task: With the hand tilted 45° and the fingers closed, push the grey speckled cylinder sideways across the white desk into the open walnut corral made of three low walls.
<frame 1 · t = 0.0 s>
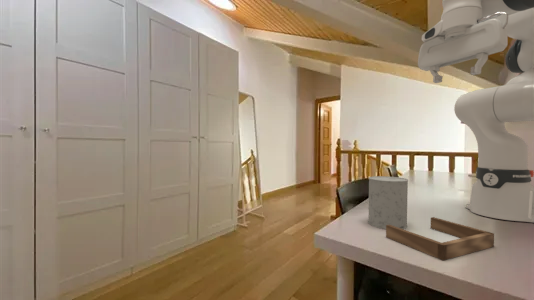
hand: (455, 78, 69), 39 cm above the table, tool pointing down, fingers open, 8 cm apart
walnut corral: (437, 241, 57), on the table
grey speckled cylinder: (387, 224, 70), on the table
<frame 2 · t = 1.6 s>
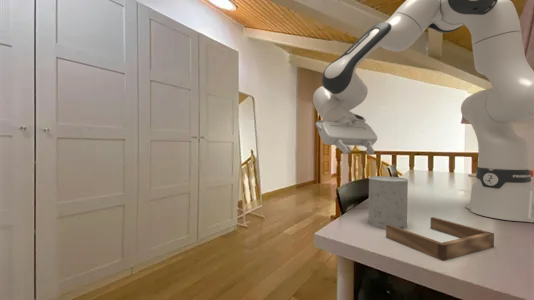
hand: (360, 153, 78), 19 cm above the table, tool tilted 45°, fingers open, 8 cm apart
nothing on the table moved.
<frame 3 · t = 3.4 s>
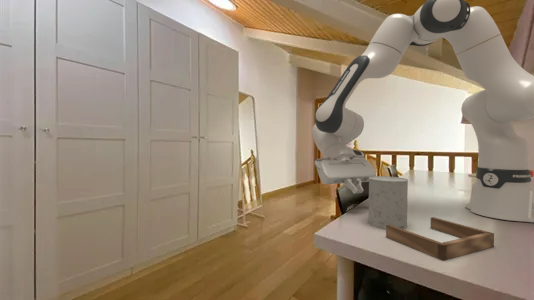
hand: (358, 192, 79), 7 cm above the table, tool tilted 45°, fingers closed
nothing on the table moved.
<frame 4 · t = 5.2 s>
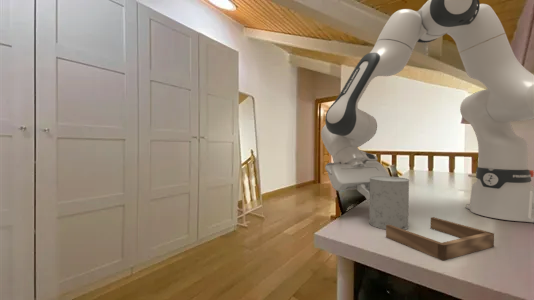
hand: (373, 198, 74), 6 cm above the table, tool tilted 45°, fingers closed, pressing on grey speckled cylinder
grey speckled cylinder: (388, 225, 69), on the table, touching gripper
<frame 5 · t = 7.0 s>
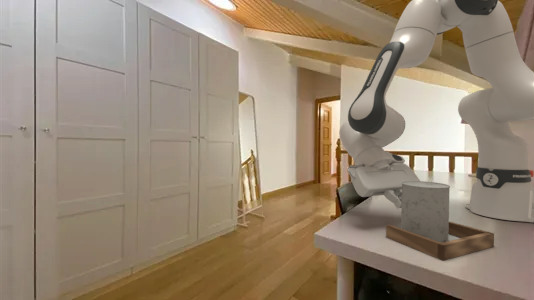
hand: (403, 206, 65), 6 cm above the table, tool tilted 45°, fingers closed, pressing on grey speckled cylinder
grey speckled cylinder: (423, 237, 60), on the table, touching gripper
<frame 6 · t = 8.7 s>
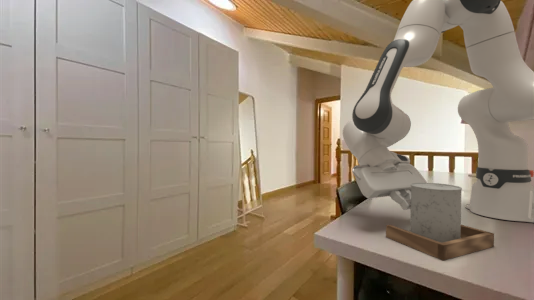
hand: (410, 208, 63), 6 cm above the table, tool tilted 45°, fingers closed
grey speckled cylinder: (434, 241, 58), on the table
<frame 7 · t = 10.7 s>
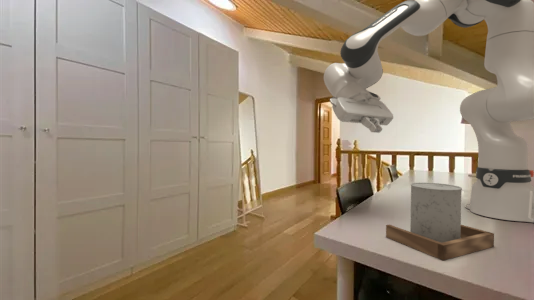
hand: (377, 131, 73), 25 cm above the table, tool tilted 45°, fingers closed
nothing on the table moved.
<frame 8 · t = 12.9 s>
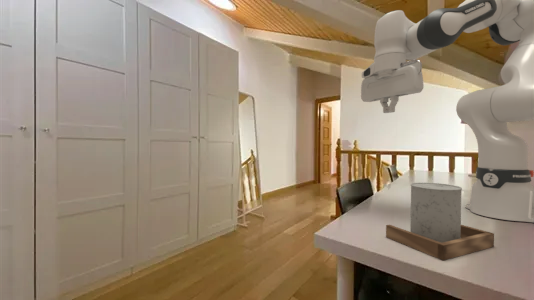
hand: (388, 112, 80), 31 cm above the table, tool pointing down, fingers closed
nothing on the table moved.
at the end: grey speckled cylinder inside the target area (1.0 cm from its centre), on the table; grey speckled cylinder tilted 0° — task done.
